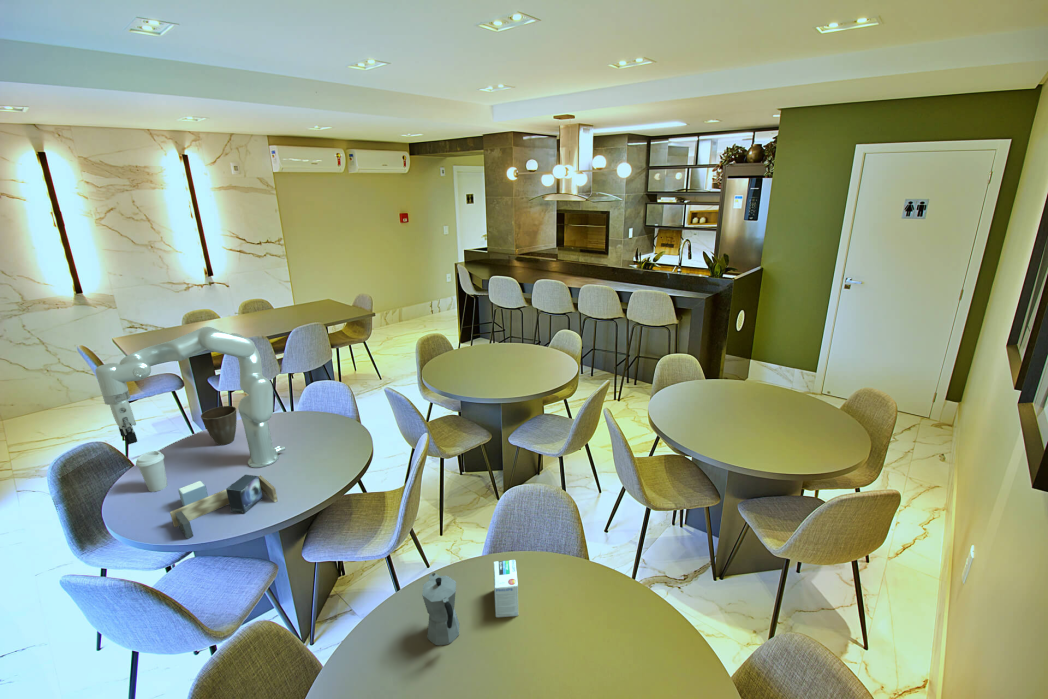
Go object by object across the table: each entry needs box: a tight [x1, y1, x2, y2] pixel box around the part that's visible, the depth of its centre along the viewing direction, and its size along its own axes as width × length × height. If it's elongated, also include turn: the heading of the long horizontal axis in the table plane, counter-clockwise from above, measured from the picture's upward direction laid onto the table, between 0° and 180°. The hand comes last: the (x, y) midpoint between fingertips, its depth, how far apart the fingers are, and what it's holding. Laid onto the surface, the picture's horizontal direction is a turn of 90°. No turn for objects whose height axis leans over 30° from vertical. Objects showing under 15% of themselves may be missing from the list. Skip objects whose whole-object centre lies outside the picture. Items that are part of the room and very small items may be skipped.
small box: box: [225, 474, 264, 515], centre depth 194 cm, size 11×6×10 cm, turn 168°
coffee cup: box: [135, 450, 168, 493], centre depth 207 cm, size 10×10×15 cm
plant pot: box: [200, 405, 238, 446], centre depth 244 cm, size 15×15×16 cm
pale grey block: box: [177, 480, 209, 507], centre depth 197 cm, size 8×6×8 cm
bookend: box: [175, 511, 194, 540], centre depth 180 cm, size 2×10×6 cm, turn 47°
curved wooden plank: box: [169, 474, 278, 528], centre depth 190 cm, size 32×14×6 cm, turn 138°
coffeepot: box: [421, 572, 460, 646], centre depth 134 cm, size 15×9×18 cm, turn 28°
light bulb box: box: [493, 559, 519, 618], centre depth 145 cm, size 11×7×11 cm, turn 5°
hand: (129, 439), depth 187 cm, fingers open, 9 cm apart
